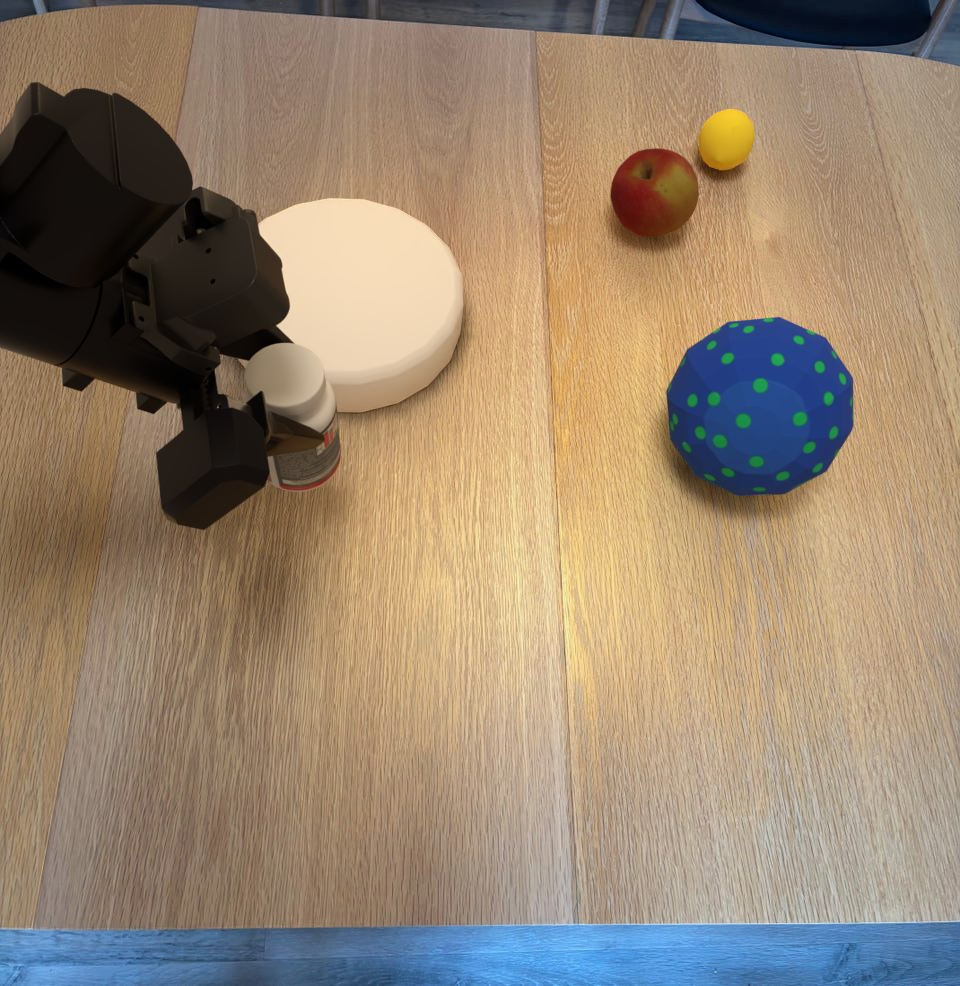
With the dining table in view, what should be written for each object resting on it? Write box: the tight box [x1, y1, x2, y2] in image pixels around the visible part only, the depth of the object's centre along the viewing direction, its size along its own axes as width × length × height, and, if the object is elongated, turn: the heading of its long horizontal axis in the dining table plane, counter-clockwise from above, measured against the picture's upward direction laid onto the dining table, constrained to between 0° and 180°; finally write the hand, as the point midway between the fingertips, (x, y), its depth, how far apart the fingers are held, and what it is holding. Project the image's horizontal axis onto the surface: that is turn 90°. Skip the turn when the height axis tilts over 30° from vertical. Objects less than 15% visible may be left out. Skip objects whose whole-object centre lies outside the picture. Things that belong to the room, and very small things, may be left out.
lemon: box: [698, 108, 756, 171], centre depth 85 cm, size 7×5×5 cm
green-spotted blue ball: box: [665, 316, 855, 497], centre depth 67 cm, size 14×14×15 cm
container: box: [236, 197, 464, 413], centre depth 72 cm, size 20×20×5 cm
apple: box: [609, 147, 700, 238], centre depth 79 cm, size 8×8×8 cm
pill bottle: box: [243, 343, 342, 493], centre depth 55 cm, size 6×6×10 cm
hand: (312, 402), depth 54 cm, fingers closed on pill bottle, 6 cm apart
